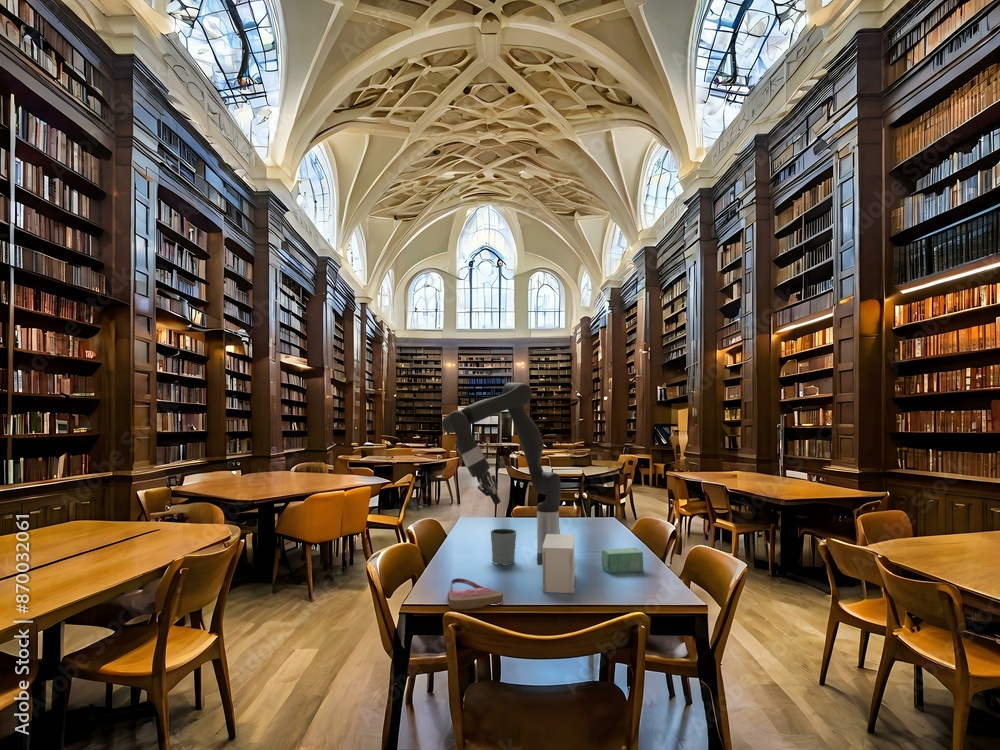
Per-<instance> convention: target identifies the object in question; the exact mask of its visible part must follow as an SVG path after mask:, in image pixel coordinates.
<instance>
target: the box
mask: <svg viewBox="0 0 1000 750" xmlns="http://www.w3.org/2000/svg"><path fill="white" fill-rule="evenodd" d="M601 567H602V569H603V570H604V571H605V572H607V573H608V574H610V575H611V574H612V575H613V574H629V573H630V574H631V573H633V574H634V573H642V572H643V573H644V555H643V551H641V550H640V549H638V548H637V547H621V548H604V549H602V550H601Z"/></svg>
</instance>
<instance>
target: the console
mask: <svg viewBox="0 0 1000 750" xmlns="http://www.w3.org/2000/svg"><path fill="white" fill-rule="evenodd" d="M575 560H576V559H575V534H562V533H560V534H546V537H545V540H544V543H543V546H542V565H541V566H542V567H541V568H542V569H541V570H542V571H541V572H542V573H541V577H542V579H541V580H542V584H541V585H542V593H559V594H560V593H561V594H562V593H563V594H574V593H575V578H576V577H575V576H576V572H575V571H576V569H575V568H576V566H575V564H576V562H575Z"/></svg>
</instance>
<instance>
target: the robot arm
mask: <svg viewBox="0 0 1000 750" xmlns="http://www.w3.org/2000/svg"><path fill="white" fill-rule="evenodd" d="M532 391H533V390H532V389H531V387H530V386H529V385H528V384H526V383H522V382H506V383H505V384H504V385H503V387H502V389H501V395H497V396H494V397H493V396H492V397H490V398H485V399H482V400H479V401H476V402H474V403H471V404H469V405H467V406H466V407H464V408H462V409H461V410H453V411H452V412H450V413H449V414H447V415H446V416H444V418H442V421H441V427H442V429H443V431H444V432H446V433H449V434H454V433H455V436H456V441H455V442H454V443H455V445H456V448H457V450H458V452H459V453H460V456H461V458H462V461H463V462H464V465H465V466H466V468H467V469H468V472H469V473H470V476H471V477H472V478H476V480H477V483H479V485H477V490H479V491H480V492H481V493H482V494H484V495H485V496H486V497H490V498H491V500H492V503H493V504H494V505H495V506H497V505H499V504H500V503H501V499H500V497H499V494H498V493H497V492H498V491H497V490H498V485H497V479H496V475H495V474H494V475H491V473H490V471H489V470H490V468H491V467H490V466H491V465H490V464H489V462H488V460H487V459H486V457H485V455H484V452H483V451H482V450H481V448H480V447H479V445H478V443H477V442H476V440H475V438H474V436H473V432H472V428H471V425H473V424H475V423H479V422H480V421H483V420H485V419H487V418H489V417H491V416H494V415H497V414H499V413H501V412H504V411H507V412H508V413H509V415H510V417H511V421H512V424H513V426H514V429H515V431H516V434H517V437H518V441H519V444H520V446H521V449H522V452H523V454H524V458H525V460H526V463H527V468H528V471H529V477H530V480H531V481H530V482H531V484H532V487H533V490H534V491H535V492H536V493H538V494H541V495H545V500H544V501H542V502H538V503H537V505H536V527H537V528H536V535H537V537H536V540H537V541H536V543H537V544H536V545H537V551H536V552H538V551H542V546H543V543H544V540H545V537H546V534H561V528H560V505H561V492H562V491H561V487H562V484H561V483H562V481H561V478H560V475H559V474H558V473H557V472H547V471H544V470H543V467H542V464H541V463H542V462H541V457H542V454H543V450H544V440H543V437H542V433H541V432H540V429H539V427H538V425H536V423H535V421H534V420H533V419H532V418H531V417H530V416H529V413H527V411H526V409H525V407H524V406H526V405H527V404H529V403H530V401H531V399H532V396H533V392H532Z"/></svg>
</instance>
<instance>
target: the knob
mask: <svg viewBox="0 0 1000 750" xmlns="http://www.w3.org/2000/svg"><path fill="white" fill-rule="evenodd" d="M536 552H537V551H536ZM536 564H537V565H536V566H542V551H538V552H537V553H536Z"/></svg>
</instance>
